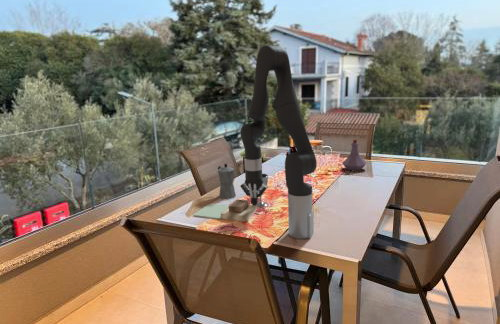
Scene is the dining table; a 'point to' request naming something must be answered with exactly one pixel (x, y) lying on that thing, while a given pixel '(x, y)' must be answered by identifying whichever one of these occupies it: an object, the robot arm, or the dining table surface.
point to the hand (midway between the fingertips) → (254, 204)
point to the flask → (354, 159)
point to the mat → (211, 211)
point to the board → (239, 214)
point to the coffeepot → (226, 182)
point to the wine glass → (265, 181)
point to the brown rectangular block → (238, 206)
